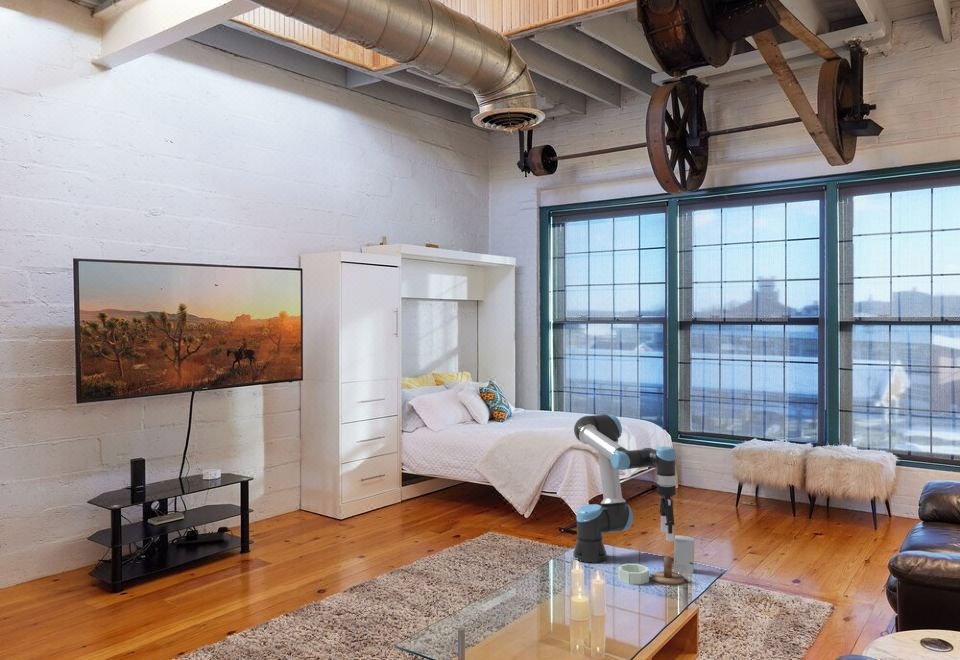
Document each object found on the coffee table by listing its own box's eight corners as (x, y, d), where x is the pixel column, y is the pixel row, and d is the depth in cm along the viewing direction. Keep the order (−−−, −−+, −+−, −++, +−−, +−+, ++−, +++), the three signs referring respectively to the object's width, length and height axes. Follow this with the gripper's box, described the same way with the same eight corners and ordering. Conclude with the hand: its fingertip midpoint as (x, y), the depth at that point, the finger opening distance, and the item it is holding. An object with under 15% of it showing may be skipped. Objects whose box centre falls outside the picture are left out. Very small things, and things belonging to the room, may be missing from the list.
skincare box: (673, 572, 307) (673, 538, 307) (674, 568, 312) (674, 534, 312) (694, 574, 304) (693, 539, 304) (694, 570, 310) (694, 536, 310)
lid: (649, 574, 304) (649, 552, 304) (680, 574, 303) (680, 552, 303) (654, 584, 291) (654, 562, 291) (687, 585, 290) (686, 562, 290)
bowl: (617, 575, 305) (617, 563, 305) (646, 575, 304) (646, 563, 304) (620, 585, 293) (620, 573, 293) (650, 585, 292) (650, 573, 292)
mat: (649, 575, 304) (649, 574, 304) (680, 575, 303) (680, 574, 303) (654, 586, 291) (654, 584, 291) (687, 586, 290) (687, 585, 290)
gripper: (652, 478, 310) (653, 527, 309) (662, 491, 285) (662, 545, 285) (670, 478, 309) (671, 527, 309) (681, 491, 284) (682, 545, 284)
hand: (667, 536), depth 297 cm, fingers open, 13 cm apart
